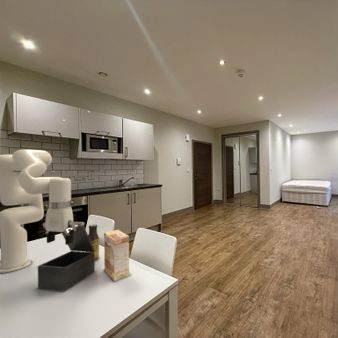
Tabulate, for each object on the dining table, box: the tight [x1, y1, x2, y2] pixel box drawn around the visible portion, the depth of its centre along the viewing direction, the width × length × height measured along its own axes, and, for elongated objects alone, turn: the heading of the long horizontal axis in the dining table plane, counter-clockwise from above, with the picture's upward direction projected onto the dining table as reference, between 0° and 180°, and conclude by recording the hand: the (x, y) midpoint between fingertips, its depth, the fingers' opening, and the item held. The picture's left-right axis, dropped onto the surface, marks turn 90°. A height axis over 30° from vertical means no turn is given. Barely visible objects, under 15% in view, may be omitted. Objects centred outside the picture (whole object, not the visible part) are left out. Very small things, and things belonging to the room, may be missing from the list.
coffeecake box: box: [103, 229, 130, 282], centre depth 96 cm, size 15×7×20 cm, turn 47°
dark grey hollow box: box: [37, 250, 96, 292], centre depth 90 cm, size 16×14×10 cm
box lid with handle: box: [60, 221, 95, 252], centre depth 97 cm, size 16×14×5 cm
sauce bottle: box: [87, 223, 100, 261], centre depth 110 cm, size 7×6×20 cm
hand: (60, 242), depth 87 cm, fingers open, 9 cm apart
